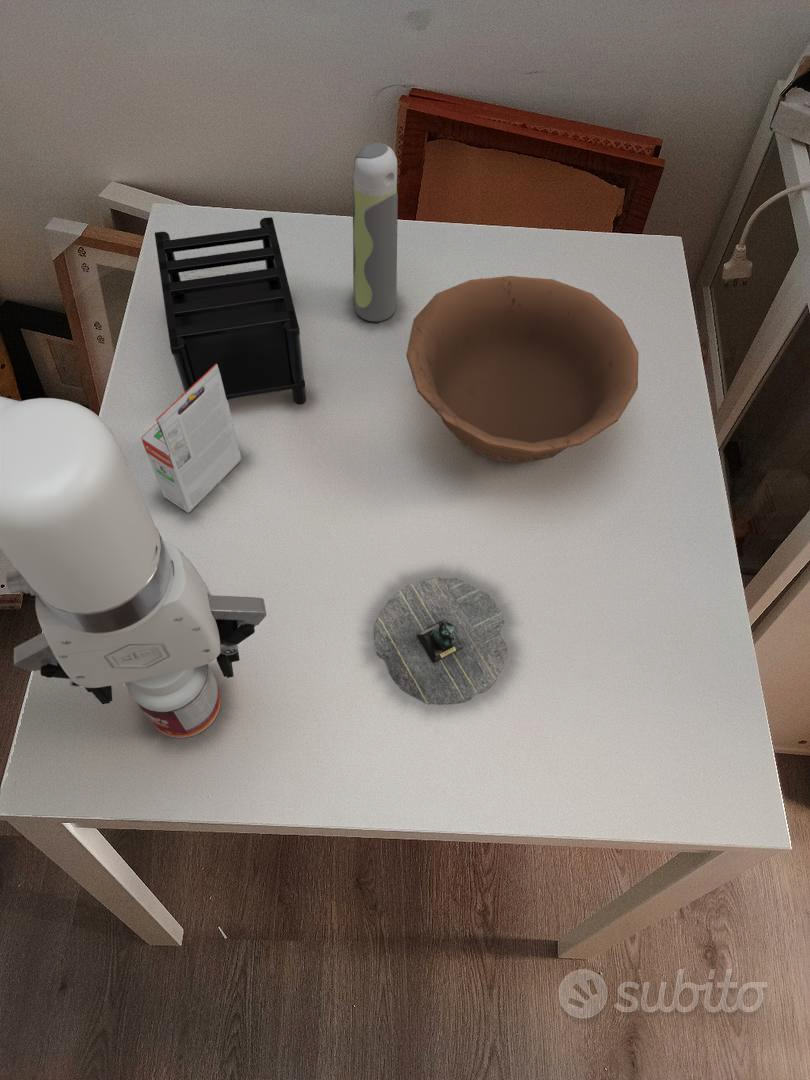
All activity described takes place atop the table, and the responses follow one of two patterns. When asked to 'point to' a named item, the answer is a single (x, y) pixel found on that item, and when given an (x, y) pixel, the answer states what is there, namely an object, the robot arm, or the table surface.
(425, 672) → the sculpture
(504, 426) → the bowl
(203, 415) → the ink box
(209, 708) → the pill bottle
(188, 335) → the rack
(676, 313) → the table surface
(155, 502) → the table surface
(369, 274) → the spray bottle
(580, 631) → the table surface
